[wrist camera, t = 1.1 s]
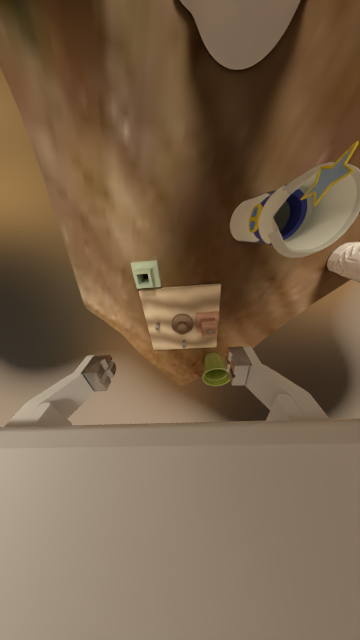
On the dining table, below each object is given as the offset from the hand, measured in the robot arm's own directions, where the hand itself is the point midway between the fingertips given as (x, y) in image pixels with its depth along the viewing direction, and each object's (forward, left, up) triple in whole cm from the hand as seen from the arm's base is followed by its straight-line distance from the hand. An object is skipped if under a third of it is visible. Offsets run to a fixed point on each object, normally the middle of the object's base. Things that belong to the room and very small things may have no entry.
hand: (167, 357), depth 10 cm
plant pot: (+34, +10, -31) cm, 47 cm away
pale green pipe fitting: (+1, -8, -31) cm, 32 cm away
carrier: (+16, 0, -31) cm, 35 cm away
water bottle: (-8, +16, -31) cm, 35 cm away
